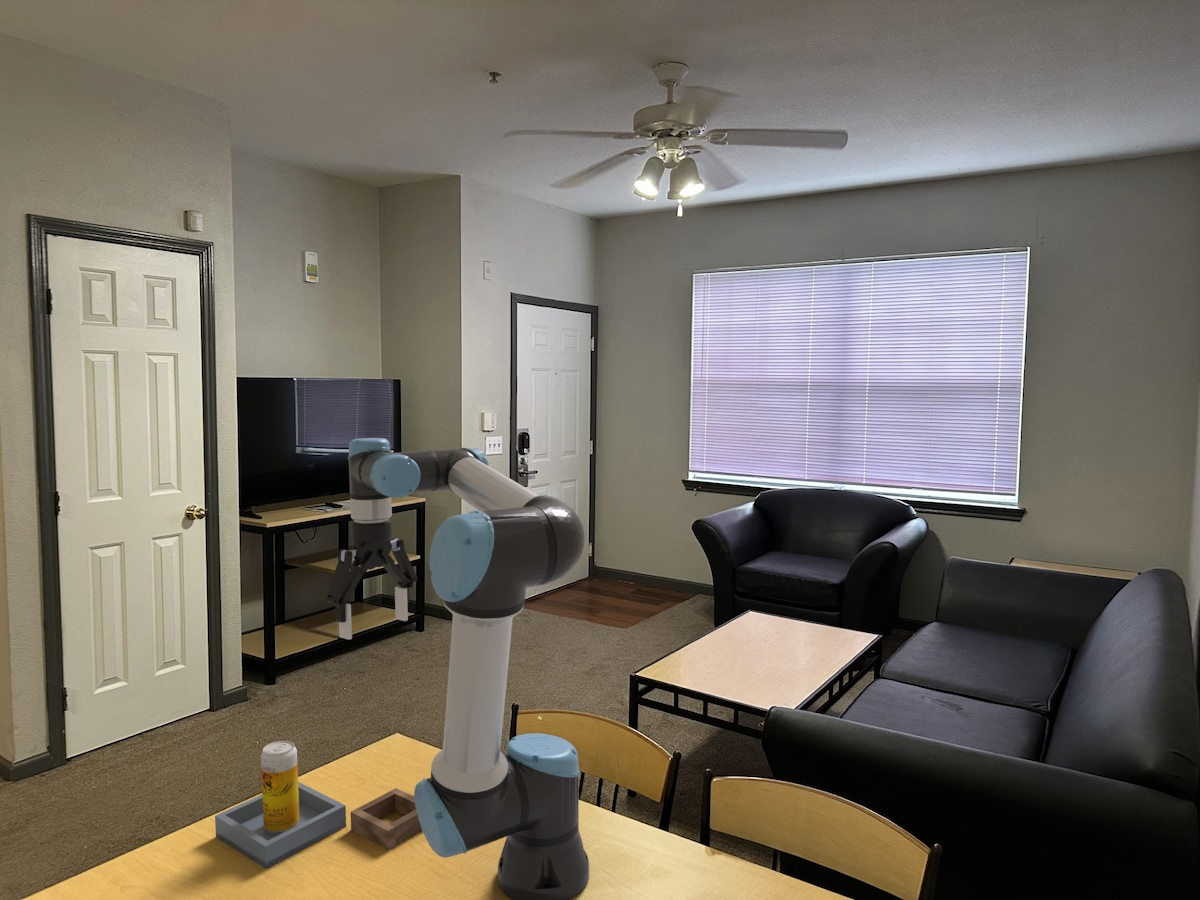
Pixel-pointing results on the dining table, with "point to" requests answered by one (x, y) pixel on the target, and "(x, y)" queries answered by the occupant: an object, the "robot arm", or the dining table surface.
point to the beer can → (280, 787)
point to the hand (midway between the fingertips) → (374, 628)
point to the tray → (268, 849)
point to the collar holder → (370, 814)
